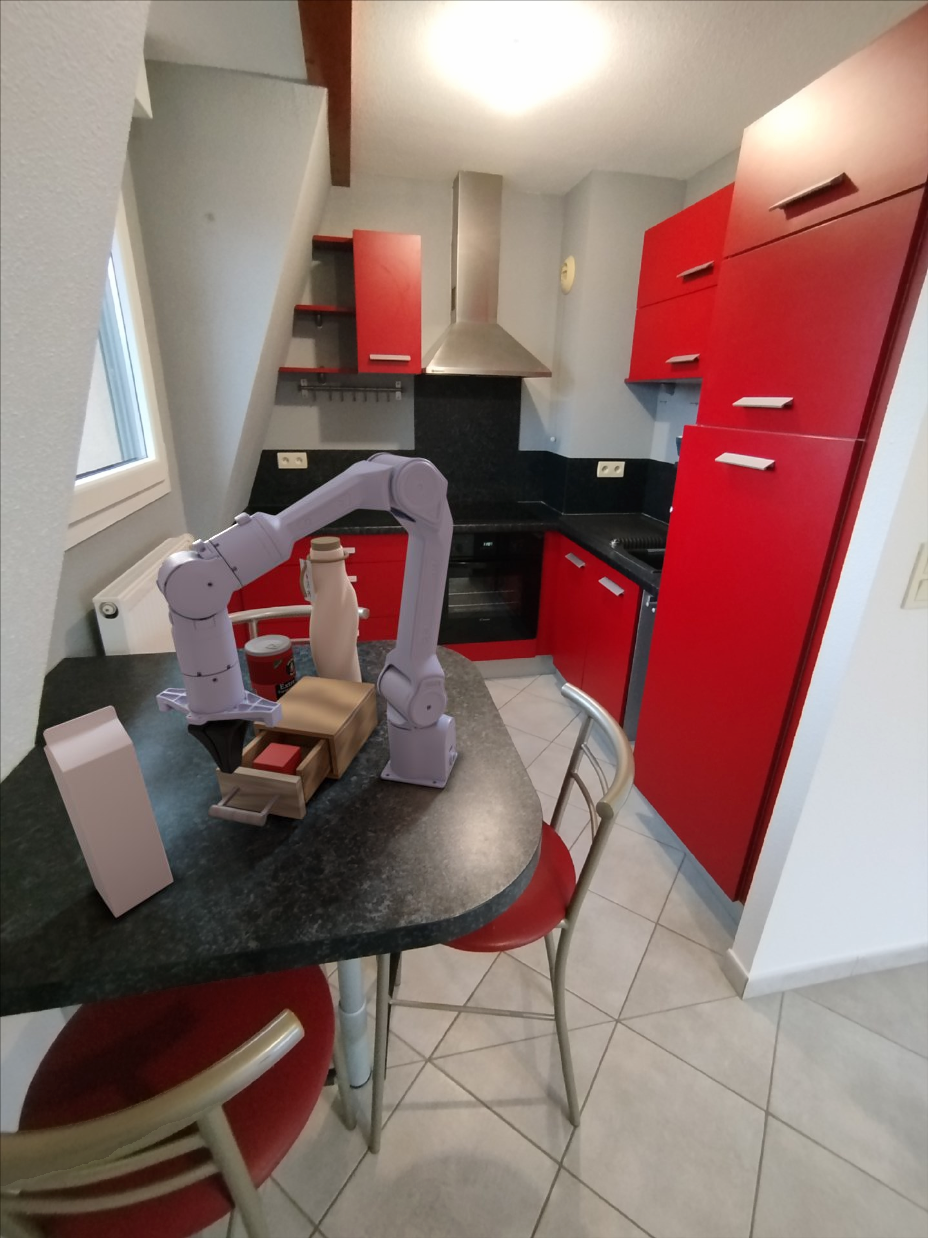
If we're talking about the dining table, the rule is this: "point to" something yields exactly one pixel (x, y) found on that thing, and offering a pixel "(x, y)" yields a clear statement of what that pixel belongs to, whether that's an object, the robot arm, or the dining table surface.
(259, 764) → the block
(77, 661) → the dining table surface
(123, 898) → the milk
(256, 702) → the robot arm
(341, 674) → the water bottle
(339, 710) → the cabinet
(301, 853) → the dining table surface
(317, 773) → the drawer
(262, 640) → the canned food
